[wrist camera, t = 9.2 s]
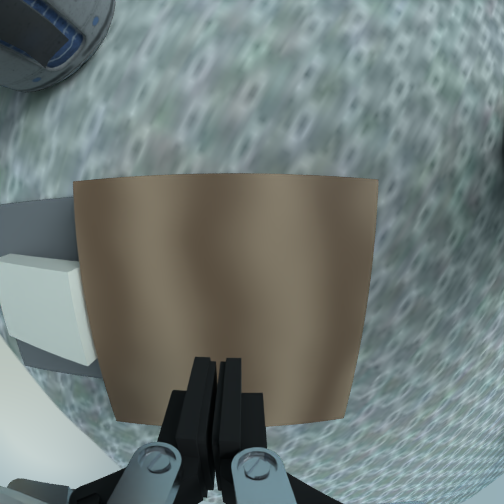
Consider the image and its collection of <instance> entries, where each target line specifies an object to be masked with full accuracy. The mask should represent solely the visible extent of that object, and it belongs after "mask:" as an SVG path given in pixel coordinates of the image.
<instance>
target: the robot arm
mask: <svg viewBox="0 0 504 504" xmlns="http://www.w3.org/2000/svg"><path fill="white" fill-rule="evenodd" d="M215 472H216V479H217V486H218V490H219V491H222V497H223V502H224V503H226V504H343V503H341V502H339V501H337V500H335V499H333V498H331V497H329V496H327V495H325V494H323V493H322V492H320V491H318V490H316V489H314V488H312V487H311V486H309V485H307V484H305V483H304V482H302V481H300V480H299V479H297V478H295V477H294V476H292V475H290V474H289V473H287V472H286V470H285V467H284V464H283V461H282V460H281V458H280V456H279V455H277V454H276V453H275V452H273V451H271V450H269V449H267V441H266V427H265V414H264V401H263V393H242V370H241V358H226V361H221V362H220V369H219V377H218V383H217V367H216V361H211V359H210V357H195V358H194V362H193V366H192V370H191V374H190V378H189V382H188V386H187V391H185V390H173V391H172V393H171V396H170V399H169V403H168V406H167V410H166V413H165V416H164V420H163V423H162V427H161V430H160V434H159V437H158V441H157V442H151V443H148V444H145V445H143V446H141V447H140V448H138V449H137V451H136V452H135V453H134V455H133V457H132V459H131V460H130V462H129V464H128V466H127V467H126V468H124V469H121V470H119V471H117V472H115V473H112V474H110V475H108V476H105V477H103V478H101V479H98V480H96V481H94V482H91V483H88V484H86V485H83V486H80V487H79V488H77V489H70V488H69V486H63V485H56V484H49V483H43V482H38V481H32V480H27V479H15V480H13V481H12V482H10V483H9V485H8V486H7V488H5V487H2V486H0V504H198V503H200V502H201V501H203V497H206V498H207V492H208V490H213V489H214V478H215ZM384 504H426V503H424V502H421V501H409V502H398V503H384Z"/></svg>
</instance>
